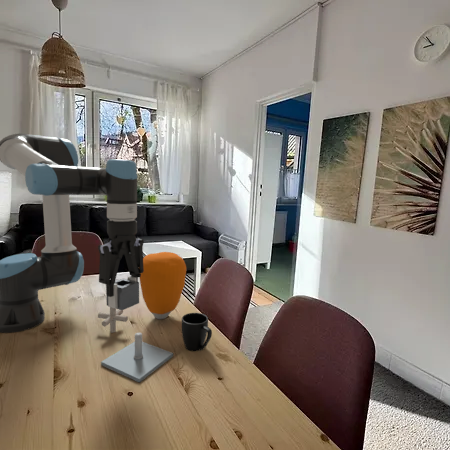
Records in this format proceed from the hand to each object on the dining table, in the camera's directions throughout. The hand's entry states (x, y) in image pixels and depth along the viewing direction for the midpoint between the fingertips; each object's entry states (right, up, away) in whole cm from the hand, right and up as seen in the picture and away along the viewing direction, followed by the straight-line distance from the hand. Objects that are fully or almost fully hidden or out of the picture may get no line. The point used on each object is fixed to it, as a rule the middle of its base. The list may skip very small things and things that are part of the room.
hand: (122, 302), depth 84 cm
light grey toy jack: (-10, -15, +20) cm, 26 cm away
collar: (0, 0, 0) cm, 0 cm away
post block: (+3, -17, +4) cm, 18 cm away
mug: (+19, -17, +11) cm, 28 cm away
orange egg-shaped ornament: (+4, -14, +31) cm, 34 cm away
